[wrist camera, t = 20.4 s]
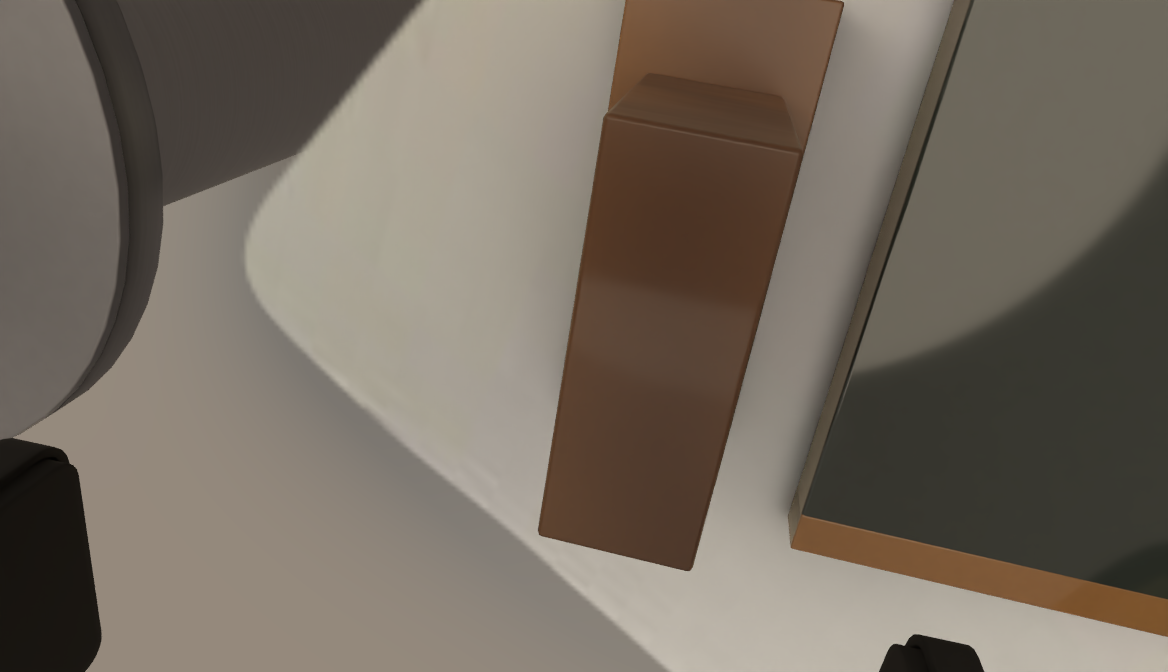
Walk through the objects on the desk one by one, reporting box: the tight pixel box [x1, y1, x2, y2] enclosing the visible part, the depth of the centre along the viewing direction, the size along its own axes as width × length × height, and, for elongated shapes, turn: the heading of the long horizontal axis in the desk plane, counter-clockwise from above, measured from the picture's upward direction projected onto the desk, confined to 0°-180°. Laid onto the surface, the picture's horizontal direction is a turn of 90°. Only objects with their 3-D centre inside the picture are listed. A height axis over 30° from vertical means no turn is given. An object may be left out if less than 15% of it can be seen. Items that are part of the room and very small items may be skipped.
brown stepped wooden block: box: [538, 0, 844, 571], centre depth 17 cm, size 4×12×8 cm, turn 171°
